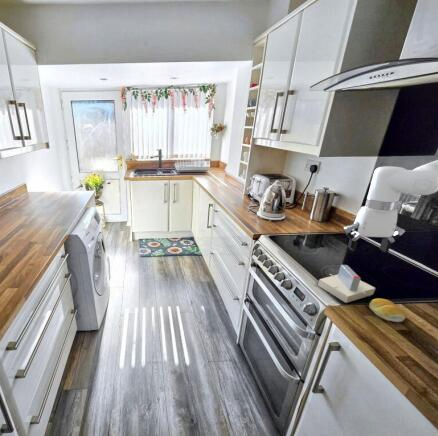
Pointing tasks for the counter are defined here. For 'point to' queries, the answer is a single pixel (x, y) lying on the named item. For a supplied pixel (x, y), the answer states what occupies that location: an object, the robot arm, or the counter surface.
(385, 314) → the bread roll
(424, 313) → the counter surface
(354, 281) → the grey rectangular block
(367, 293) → the cream flat tabbed slab
